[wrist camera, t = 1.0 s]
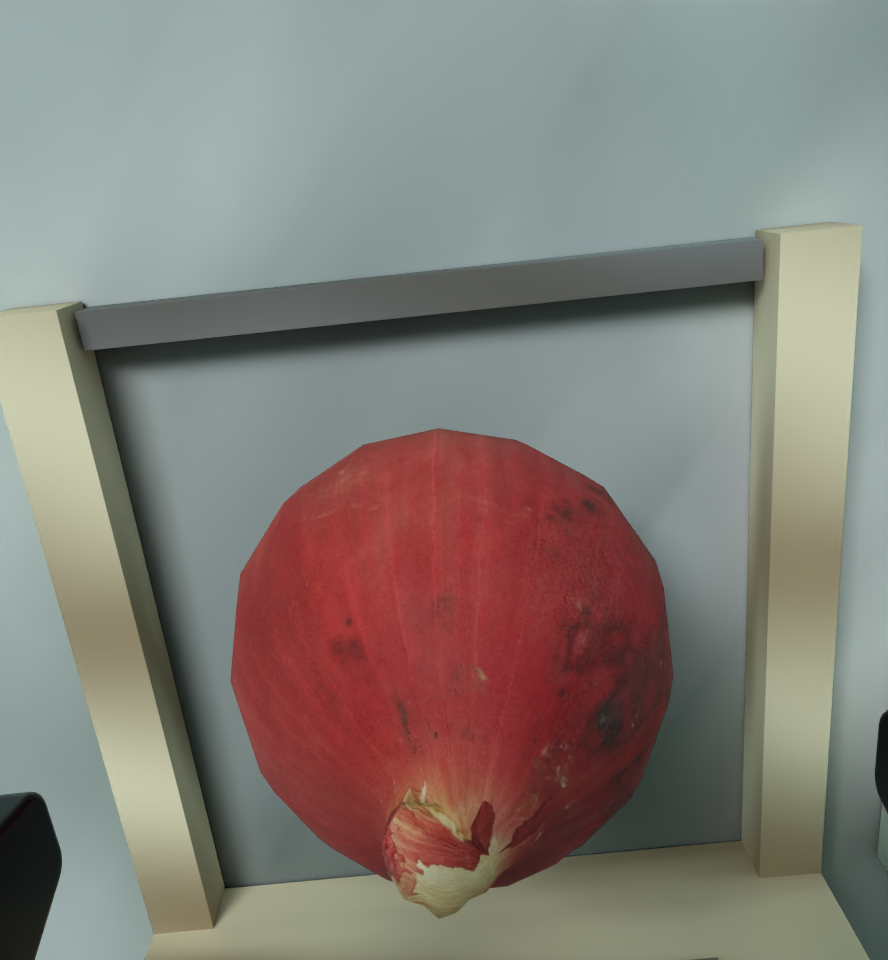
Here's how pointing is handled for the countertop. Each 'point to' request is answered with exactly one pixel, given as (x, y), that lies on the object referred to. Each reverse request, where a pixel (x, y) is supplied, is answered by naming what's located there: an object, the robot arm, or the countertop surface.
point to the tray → (883, 839)
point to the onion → (451, 661)
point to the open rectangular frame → (574, 880)
